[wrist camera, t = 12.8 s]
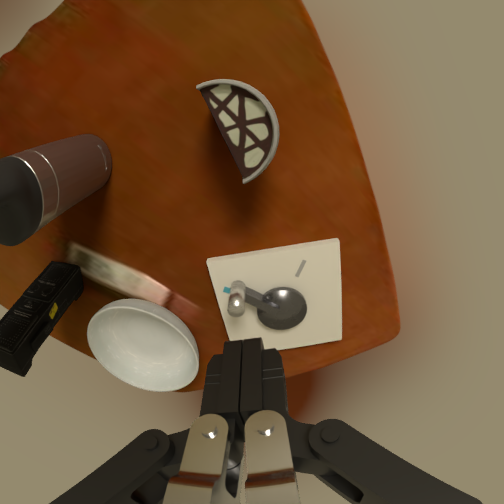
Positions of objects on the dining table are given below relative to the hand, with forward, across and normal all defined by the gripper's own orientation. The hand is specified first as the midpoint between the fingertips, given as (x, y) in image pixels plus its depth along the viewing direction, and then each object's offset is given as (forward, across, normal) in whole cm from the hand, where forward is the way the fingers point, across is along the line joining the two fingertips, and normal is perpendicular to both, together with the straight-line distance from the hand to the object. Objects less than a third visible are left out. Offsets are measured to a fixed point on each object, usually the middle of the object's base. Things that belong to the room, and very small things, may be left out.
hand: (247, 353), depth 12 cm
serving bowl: (+32, +24, +24) cm, 47 cm away
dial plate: (+32, -1, +21) cm, 38 cm away
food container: (+32, -1, -8) cm, 33 cm away
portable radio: (+32, +36, +10) cm, 49 cm away
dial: (+30, +1, +19) cm, 36 cm away
